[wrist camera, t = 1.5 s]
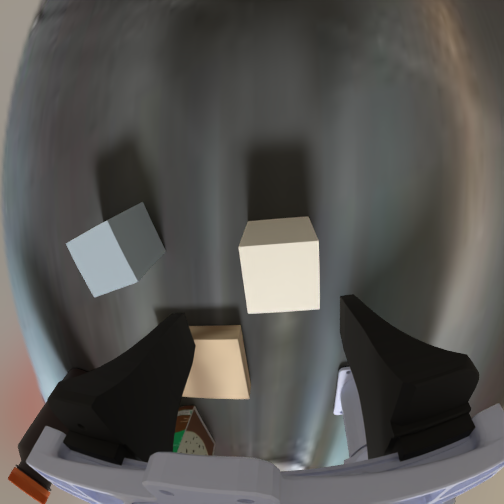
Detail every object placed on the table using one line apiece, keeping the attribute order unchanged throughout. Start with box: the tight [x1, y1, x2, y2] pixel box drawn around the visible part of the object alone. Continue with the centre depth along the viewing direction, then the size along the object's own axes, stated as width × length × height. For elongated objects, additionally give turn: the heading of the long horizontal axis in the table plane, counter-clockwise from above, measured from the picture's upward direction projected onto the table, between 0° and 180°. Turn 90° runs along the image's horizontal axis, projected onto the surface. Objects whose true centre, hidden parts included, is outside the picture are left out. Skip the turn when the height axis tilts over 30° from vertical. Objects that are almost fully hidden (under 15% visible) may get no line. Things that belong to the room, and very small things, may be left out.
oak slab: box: [182, 325, 251, 399], centre depth 26 cm, size 8×8×2 cm
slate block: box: [66, 202, 166, 297], centre depth 20 cm, size 4×4×6 cm
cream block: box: [239, 216, 320, 314], centre depth 19 cm, size 4×4×6 cm
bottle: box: [8, 369, 88, 504], centre depth 22 cm, size 7×7×20 cm
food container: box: [173, 405, 215, 456], centre depth 27 cm, size 12×6×10 cm, turn 11°
